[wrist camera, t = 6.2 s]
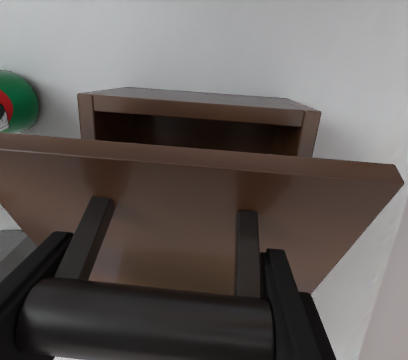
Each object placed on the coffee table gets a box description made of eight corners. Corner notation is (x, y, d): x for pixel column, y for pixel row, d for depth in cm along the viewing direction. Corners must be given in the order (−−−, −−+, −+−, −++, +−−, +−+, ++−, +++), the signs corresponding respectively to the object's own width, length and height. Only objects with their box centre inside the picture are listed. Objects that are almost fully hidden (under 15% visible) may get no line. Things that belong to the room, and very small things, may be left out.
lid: (-33, 129, 9) (-225, 304, 5) (395, 163, 8) (516, 386, 5) (95, 301, 20) (64, 393, 17) (277, 320, 20) (286, 419, 16)
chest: (126, 86, 23) (76, 93, 15) (288, 98, 22) (322, 111, 15) (131, 239, 28) (96, 301, 20) (262, 251, 28) (277, 321, 20)
